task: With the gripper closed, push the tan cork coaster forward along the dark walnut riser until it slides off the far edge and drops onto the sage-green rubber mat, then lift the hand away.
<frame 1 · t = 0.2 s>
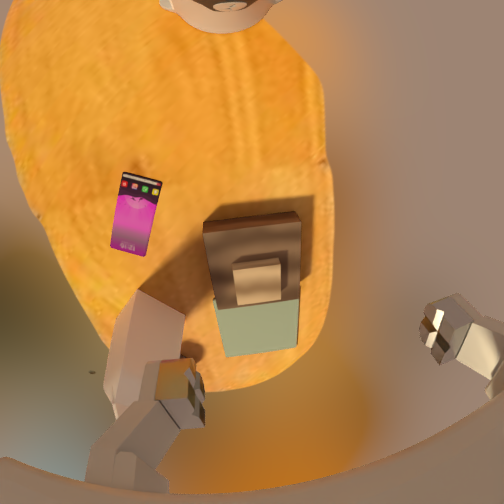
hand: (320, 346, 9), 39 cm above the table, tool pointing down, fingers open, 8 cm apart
coaster: (256, 278, 51), point 4 cm above the table, touching riser
riser: (253, 257, 53), on the table
milk: (149, 316, 59), on the table
mat: (259, 325, 64), on the table
smartphone: (134, 215, 46), on the table
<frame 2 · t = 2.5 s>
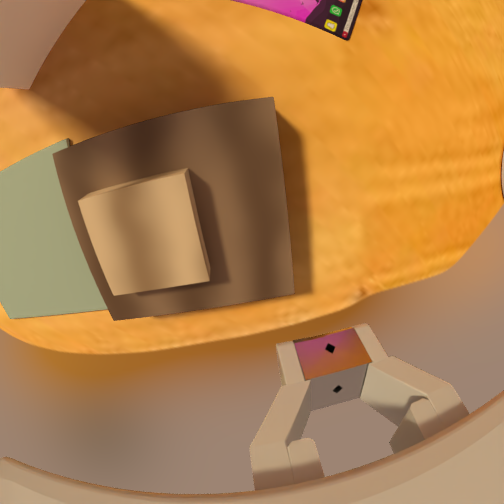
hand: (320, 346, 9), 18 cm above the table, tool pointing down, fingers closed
coaster: (148, 230, 20), point 4 cm above the table, touching riser
riser: (180, 208, 24), on the table
milk: (30, 21, 13), on the table
mat: (25, 247, 24), on the table
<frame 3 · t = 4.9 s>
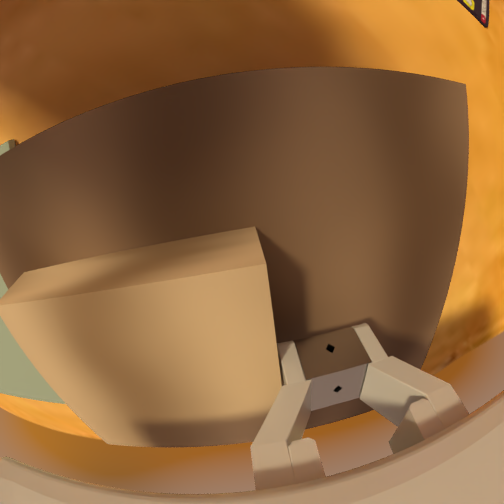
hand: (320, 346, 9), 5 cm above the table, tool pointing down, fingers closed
coaster: (158, 351, 9), point 4 cm above the table, touching gripper, riser
riser: (236, 278, 13), on the table
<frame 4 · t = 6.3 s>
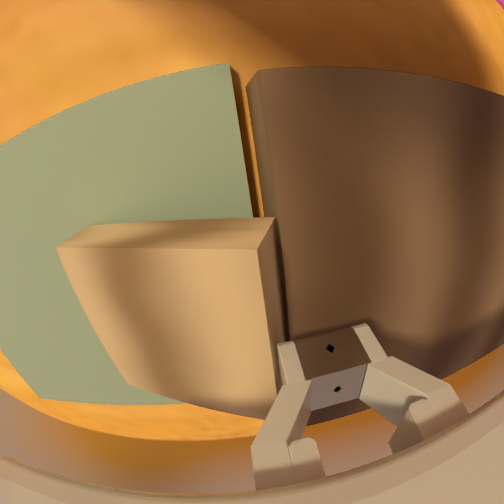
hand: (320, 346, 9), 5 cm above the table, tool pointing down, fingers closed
coaster: (187, 312, 11), point 2 cm above the table, tilted 22°, touching gripper
riser: (424, 240, 13), on the table
mat: (74, 300, 13), on the table
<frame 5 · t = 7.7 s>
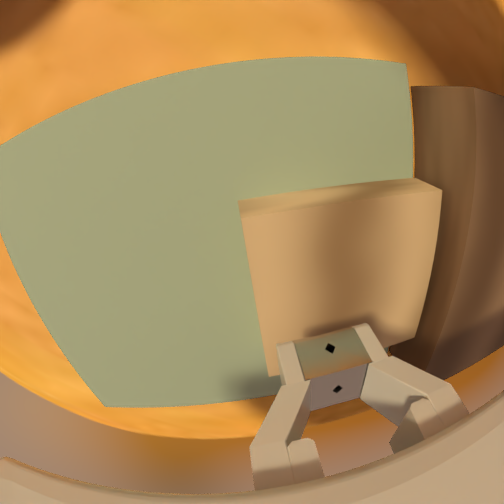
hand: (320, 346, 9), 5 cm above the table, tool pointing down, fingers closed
coaster: (338, 270, 13), resting on mat
riser: (498, 225, 13), on the table
mat: (204, 284, 13), on the table
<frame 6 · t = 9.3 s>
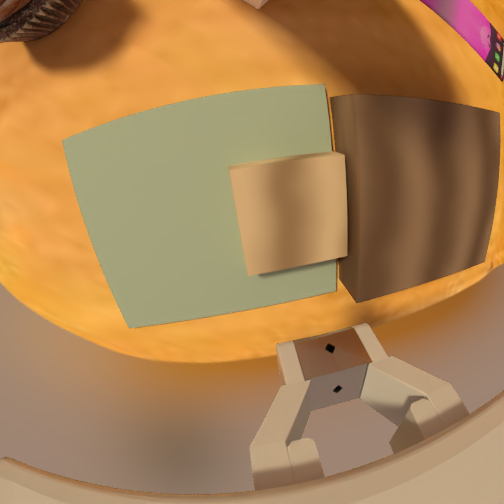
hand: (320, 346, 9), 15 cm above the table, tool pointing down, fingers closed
coaster: (288, 208, 22), resting on mat
riser: (417, 185, 22), on the table
mat: (208, 217, 22), on the table
smartphone: (467, 22, 15), on the table
cupcake: (50, 2, 11), on the table
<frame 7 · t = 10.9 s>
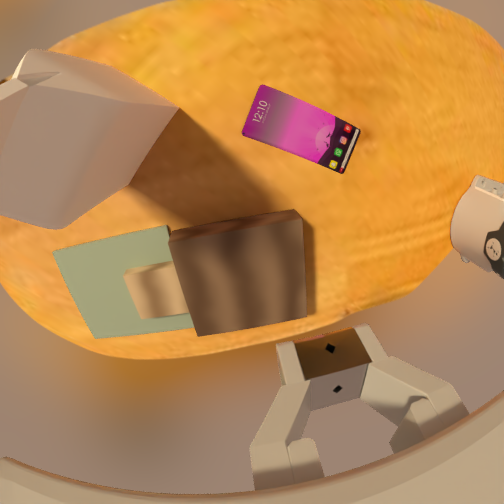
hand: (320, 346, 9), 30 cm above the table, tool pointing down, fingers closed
coaster: (158, 287, 41), resting on mat
riser: (241, 269, 42), on the table
milk: (118, 124, 31), on the table
mat: (123, 290, 41), on the table
smartphone: (303, 129, 34), on the table
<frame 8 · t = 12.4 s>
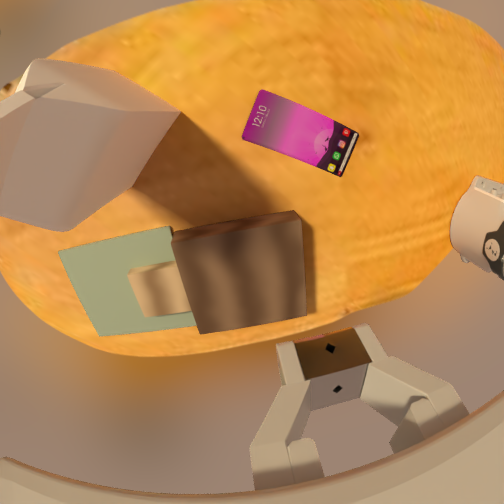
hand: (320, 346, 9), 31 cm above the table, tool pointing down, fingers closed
coaster: (161, 286, 42), resting on mat
riser: (243, 269, 43), on the table
milk: (121, 127, 32), on the table
mat: (127, 288, 43), on the table
smartphone: (302, 133, 35), on the table
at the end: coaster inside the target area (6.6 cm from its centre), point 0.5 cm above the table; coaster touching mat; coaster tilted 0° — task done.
